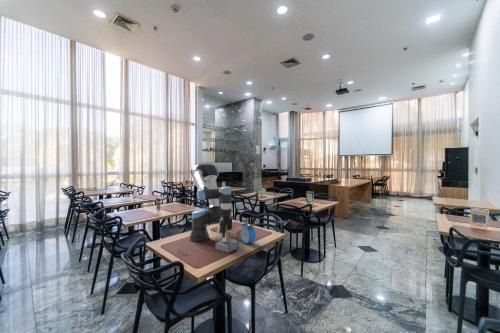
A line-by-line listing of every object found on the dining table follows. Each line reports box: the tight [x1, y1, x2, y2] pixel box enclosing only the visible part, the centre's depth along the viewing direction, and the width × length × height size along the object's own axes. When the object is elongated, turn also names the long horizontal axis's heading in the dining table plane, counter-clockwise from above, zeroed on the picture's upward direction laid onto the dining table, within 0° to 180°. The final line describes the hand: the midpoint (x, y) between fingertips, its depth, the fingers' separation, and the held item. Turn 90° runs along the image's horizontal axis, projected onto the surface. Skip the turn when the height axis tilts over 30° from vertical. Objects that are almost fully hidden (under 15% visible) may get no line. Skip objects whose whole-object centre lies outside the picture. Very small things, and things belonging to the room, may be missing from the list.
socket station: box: [214, 226, 243, 254], centre depth 153 cm, size 16×12×15 cm
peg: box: [224, 229, 228, 244], centre depth 155 cm, size 3×3×12 cm
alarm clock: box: [239, 221, 257, 245], centre depth 164 cm, size 13×6×15 cm, turn 41°
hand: (226, 240), depth 155 cm, fingers open, 3 cm apart
